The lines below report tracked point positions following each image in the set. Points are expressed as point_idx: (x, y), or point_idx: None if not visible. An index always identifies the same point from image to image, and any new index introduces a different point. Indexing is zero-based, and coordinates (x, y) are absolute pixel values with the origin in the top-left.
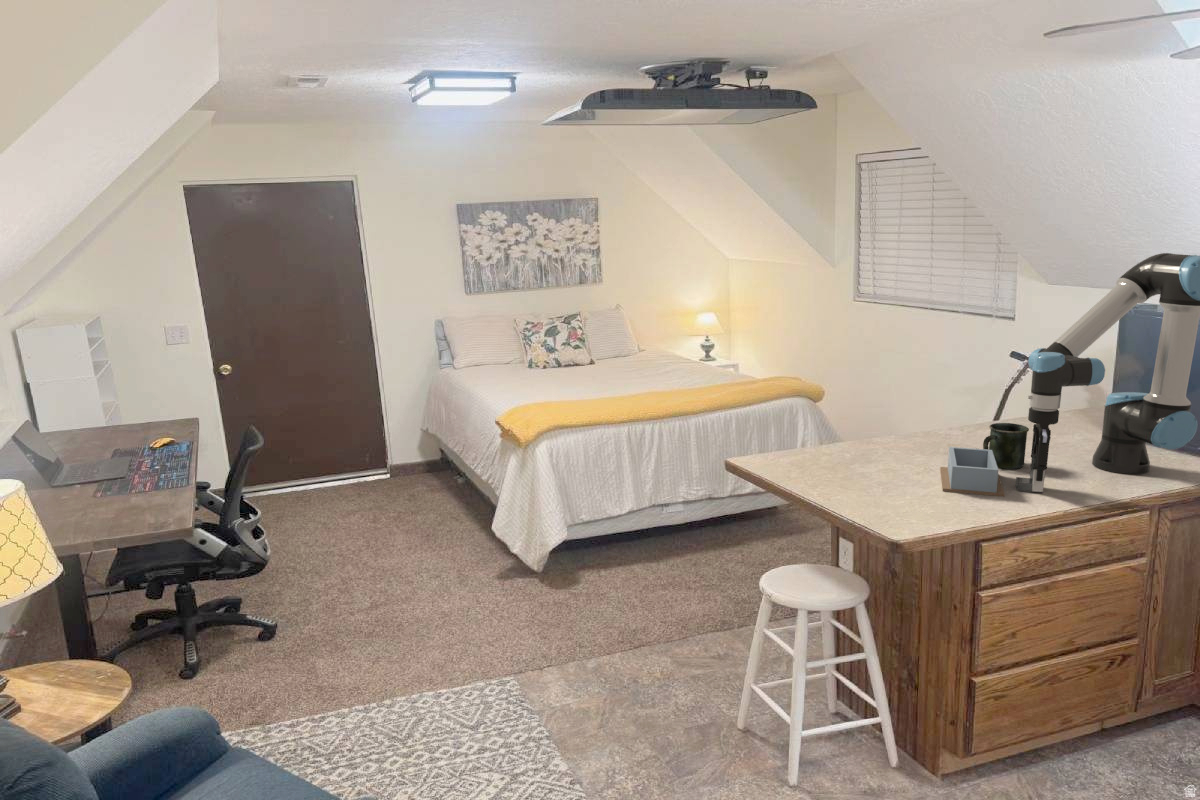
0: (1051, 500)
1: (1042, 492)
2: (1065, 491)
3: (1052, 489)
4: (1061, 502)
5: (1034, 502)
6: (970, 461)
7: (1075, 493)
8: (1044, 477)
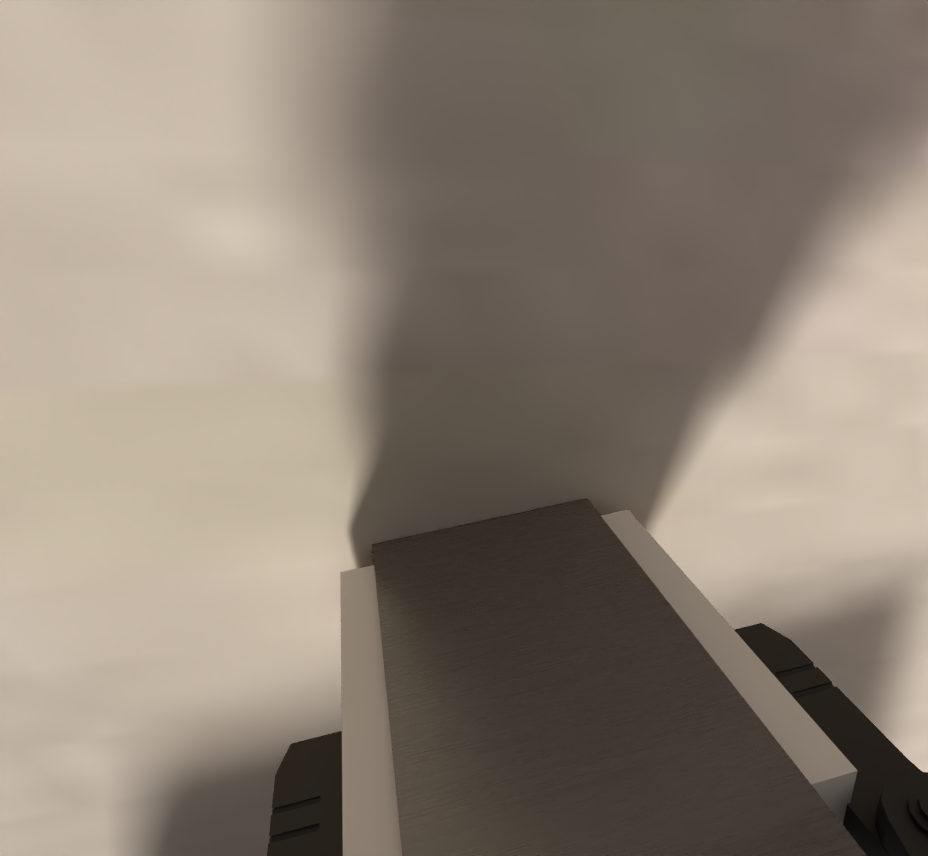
0: (821, 396)
1: (591, 506)
2: (403, 242)
3: (386, 412)
4: (875, 291)
5: (898, 532)
6: None
7: (444, 88)
8: (694, 638)
